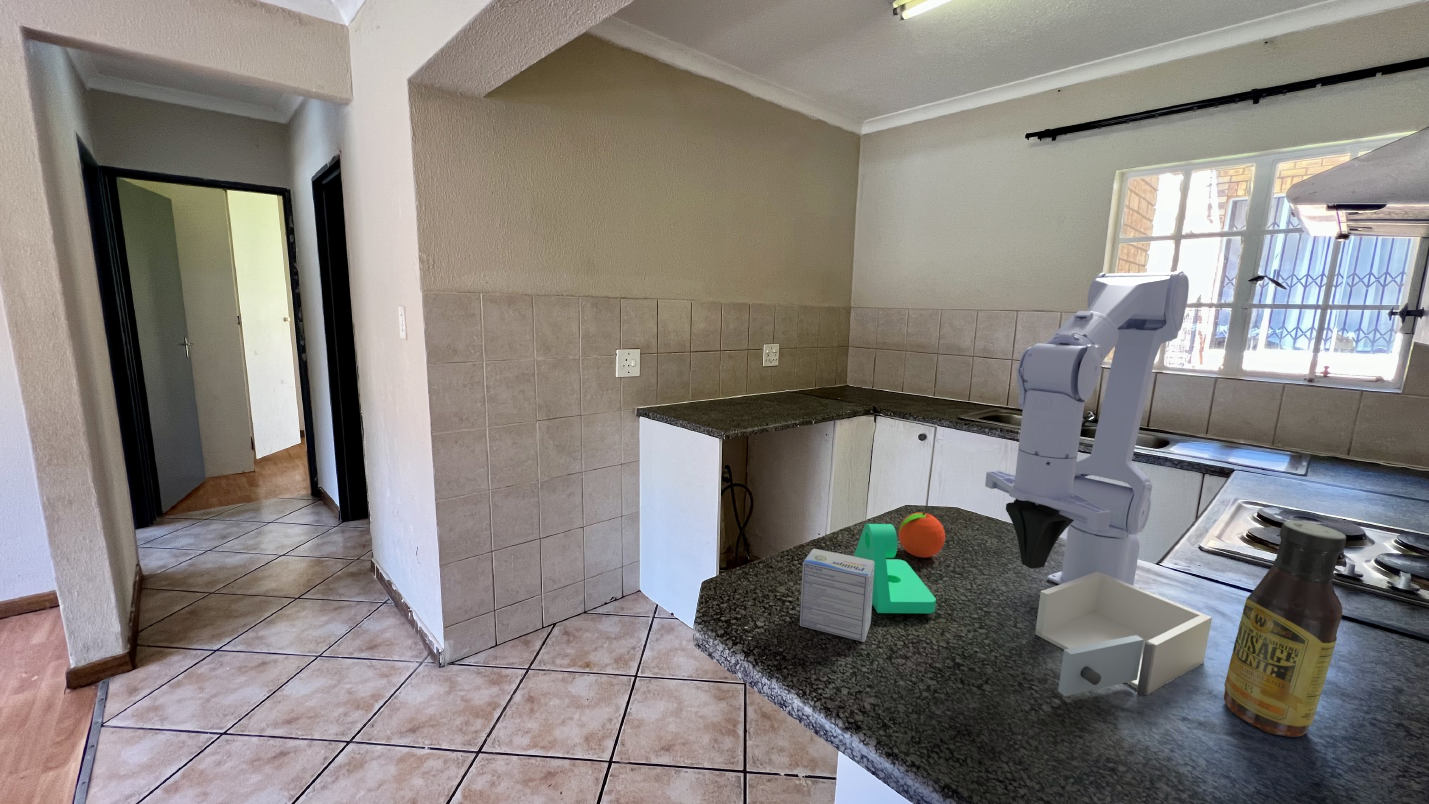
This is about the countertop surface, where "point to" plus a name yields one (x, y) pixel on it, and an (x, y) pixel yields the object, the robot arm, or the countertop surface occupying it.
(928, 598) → the camera mount
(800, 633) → the countertop surface
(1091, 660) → the case door
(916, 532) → the clementine
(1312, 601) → the sauce bottle
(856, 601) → the medicine box
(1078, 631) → the cream case
